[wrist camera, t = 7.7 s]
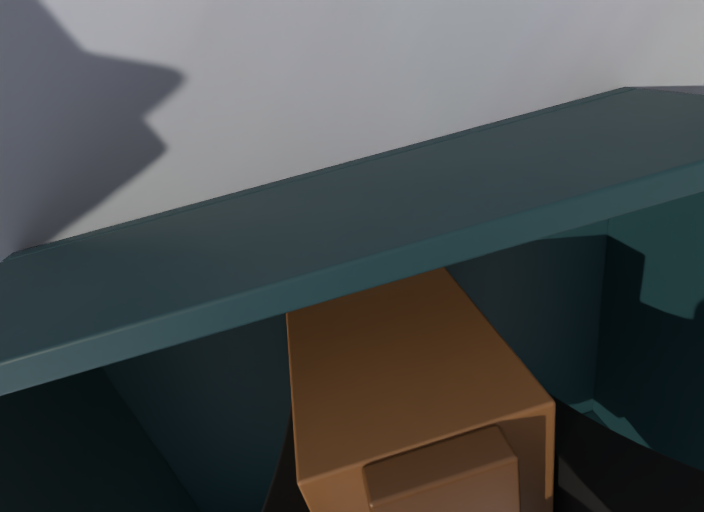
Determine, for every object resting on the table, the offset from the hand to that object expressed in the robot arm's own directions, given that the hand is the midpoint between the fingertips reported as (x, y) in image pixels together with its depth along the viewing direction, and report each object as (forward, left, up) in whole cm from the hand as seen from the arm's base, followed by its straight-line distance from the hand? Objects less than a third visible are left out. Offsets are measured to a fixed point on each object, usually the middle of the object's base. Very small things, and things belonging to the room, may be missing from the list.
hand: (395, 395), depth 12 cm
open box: (0, 0, -2) cm, 2 cm away
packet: (0, 0, -2) cm, 2 cm away
